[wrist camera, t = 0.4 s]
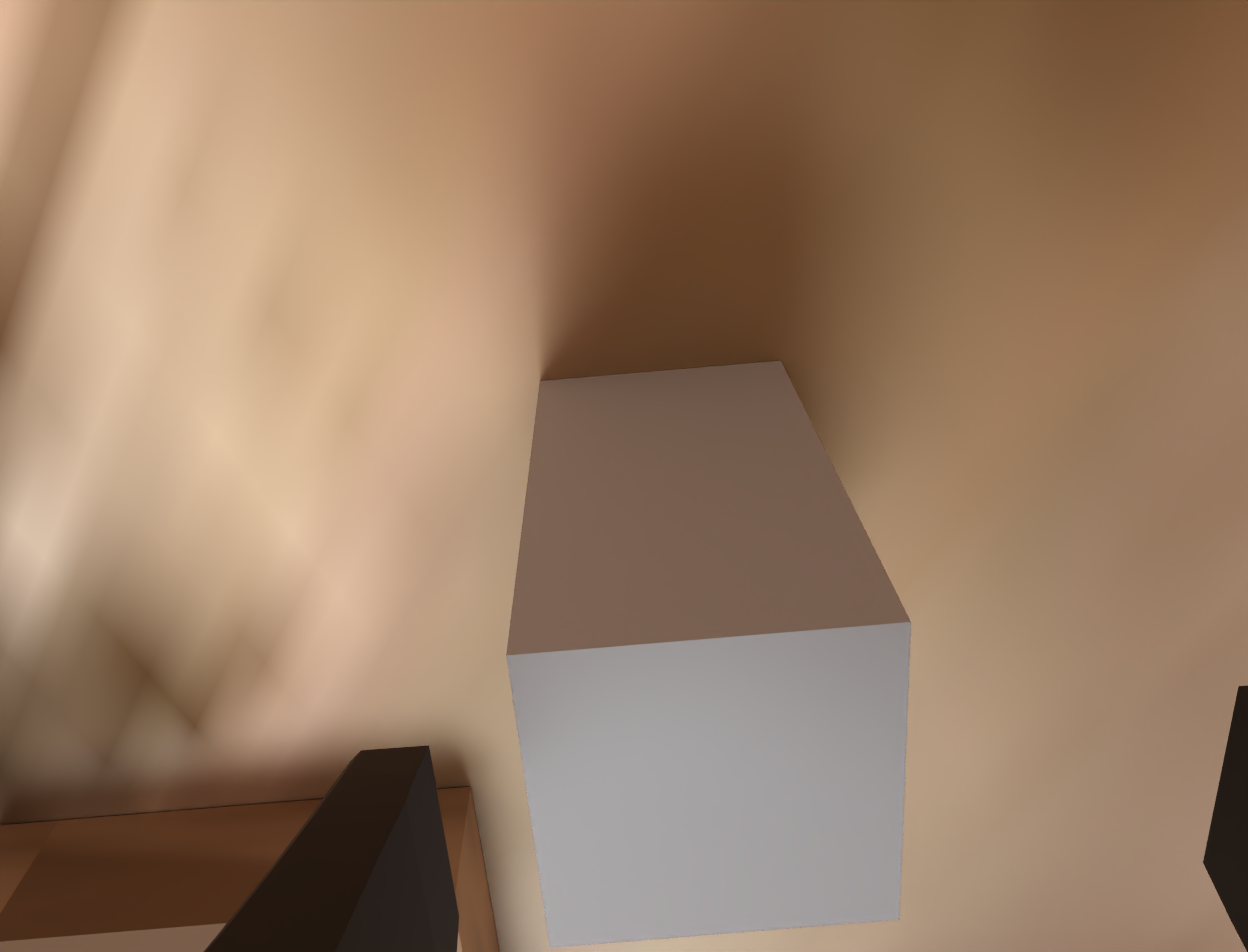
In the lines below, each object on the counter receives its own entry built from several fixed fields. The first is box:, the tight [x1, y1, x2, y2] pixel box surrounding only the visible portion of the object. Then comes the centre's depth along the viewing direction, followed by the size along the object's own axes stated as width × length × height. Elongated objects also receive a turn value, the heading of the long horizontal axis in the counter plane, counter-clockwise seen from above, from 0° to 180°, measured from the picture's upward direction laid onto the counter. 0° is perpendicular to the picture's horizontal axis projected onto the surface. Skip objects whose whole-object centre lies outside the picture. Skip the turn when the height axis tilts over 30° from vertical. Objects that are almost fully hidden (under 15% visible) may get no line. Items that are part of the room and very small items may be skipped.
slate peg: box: [506, 361, 911, 948], centre depth 15 cm, size 4×4×8 cm
